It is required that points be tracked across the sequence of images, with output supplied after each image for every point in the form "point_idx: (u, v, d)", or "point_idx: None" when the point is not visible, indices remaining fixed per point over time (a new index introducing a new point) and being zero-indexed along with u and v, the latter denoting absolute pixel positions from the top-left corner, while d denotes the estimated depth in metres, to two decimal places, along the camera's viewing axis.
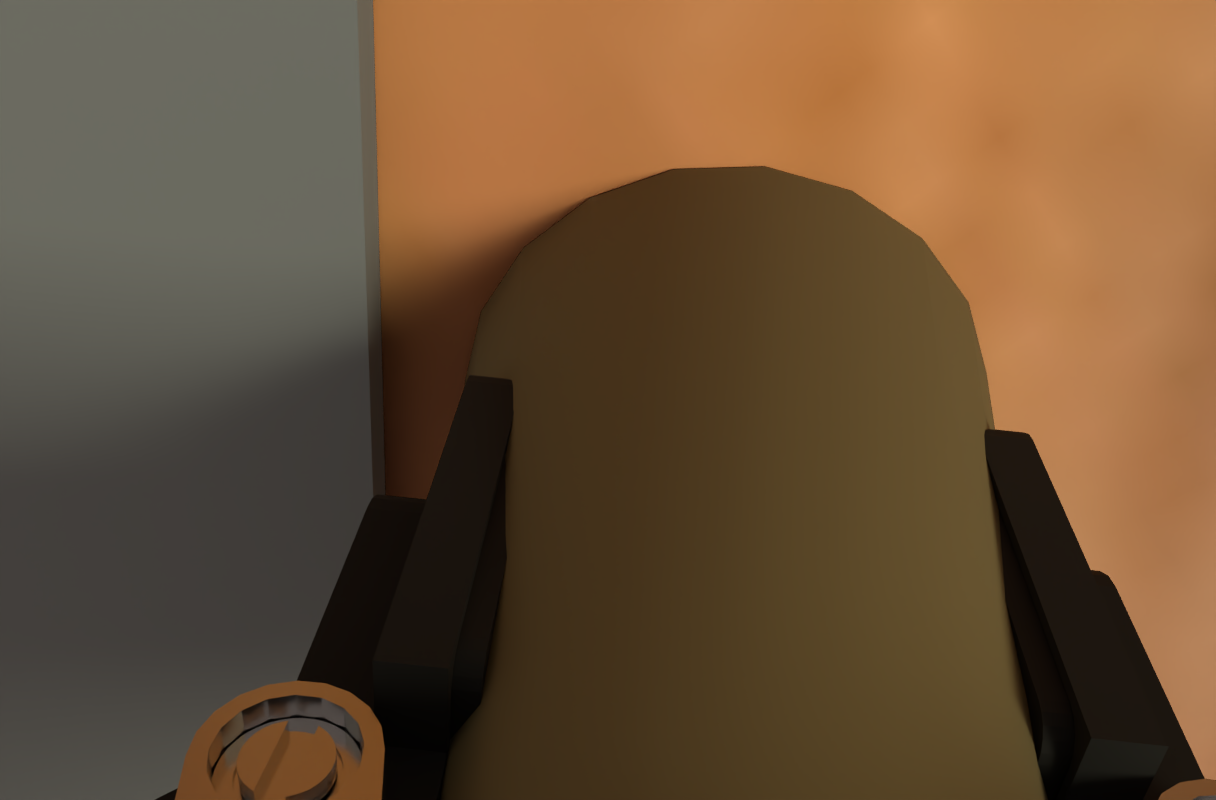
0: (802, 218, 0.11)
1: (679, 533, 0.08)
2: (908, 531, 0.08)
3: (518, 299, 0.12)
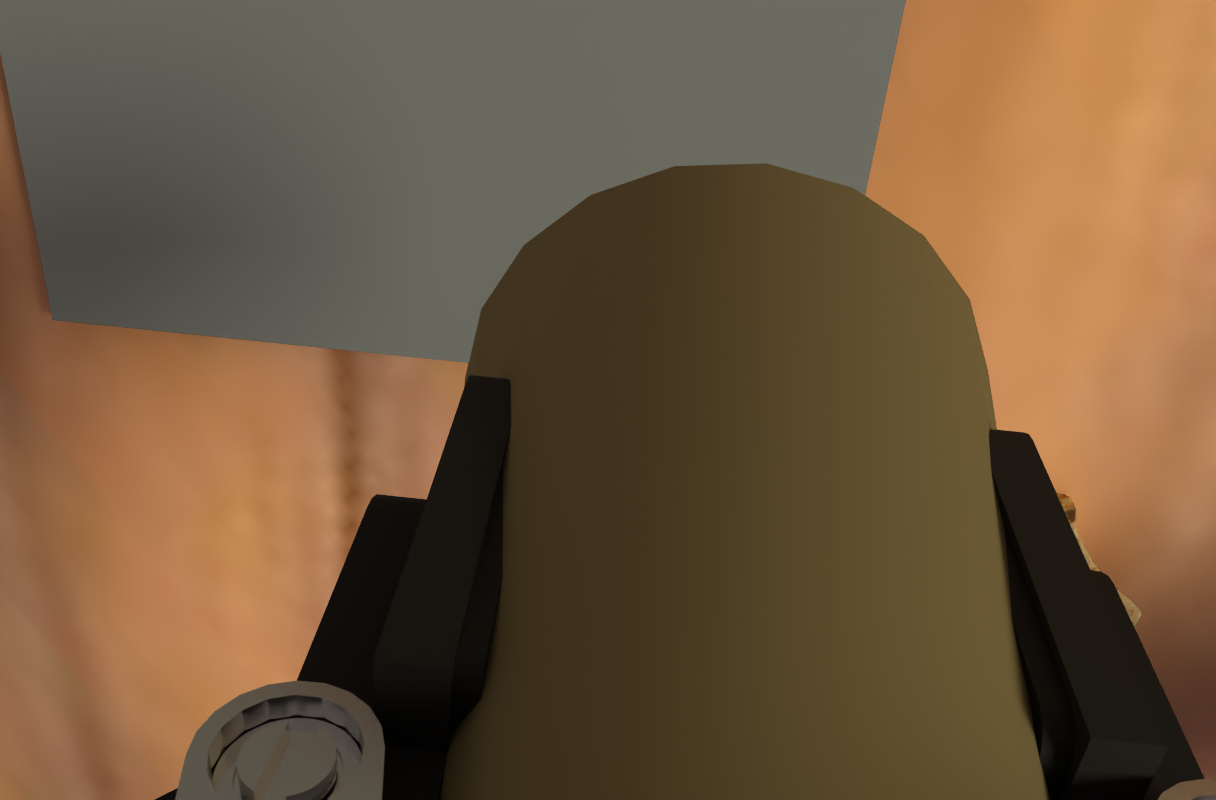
0: (802, 214, 0.11)
1: (679, 529, 0.08)
2: (908, 527, 0.08)
3: (518, 296, 0.12)
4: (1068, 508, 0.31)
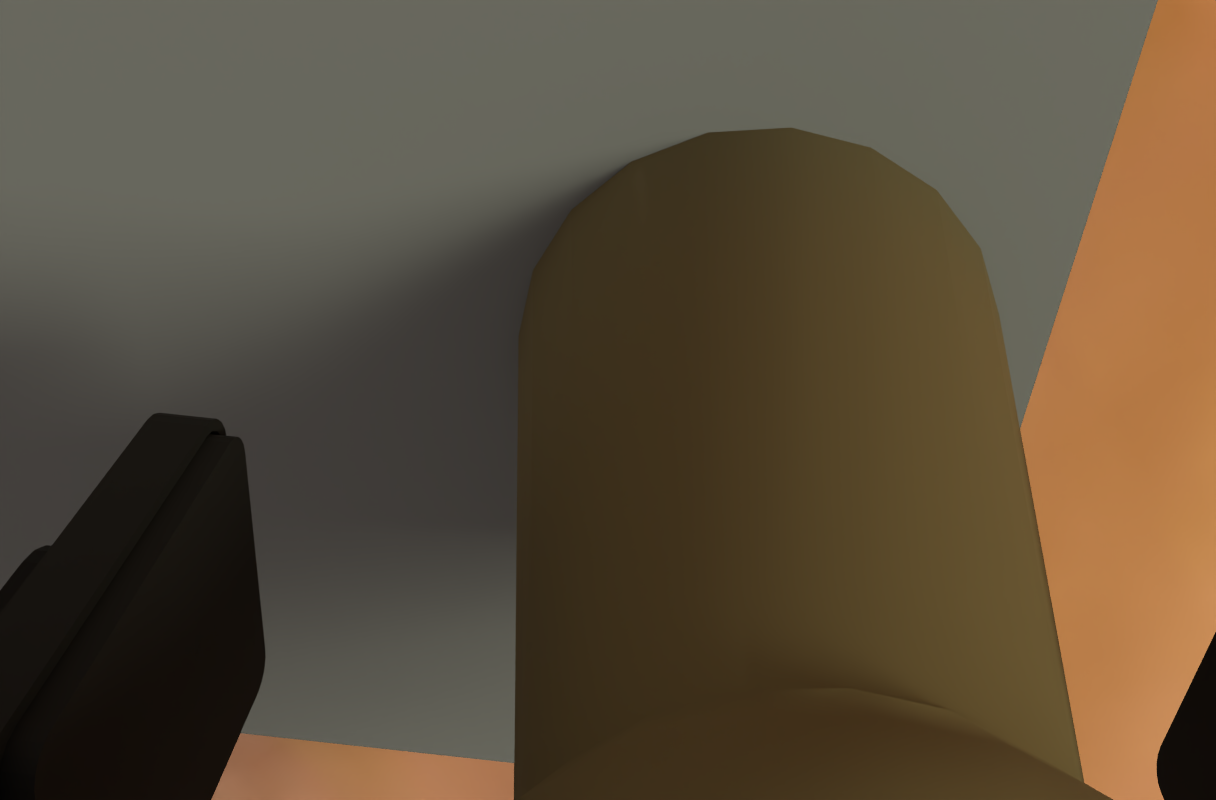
0: (825, 171, 0.12)
1: (730, 433, 0.09)
2: (931, 429, 0.09)
3: (569, 254, 0.13)
4: None
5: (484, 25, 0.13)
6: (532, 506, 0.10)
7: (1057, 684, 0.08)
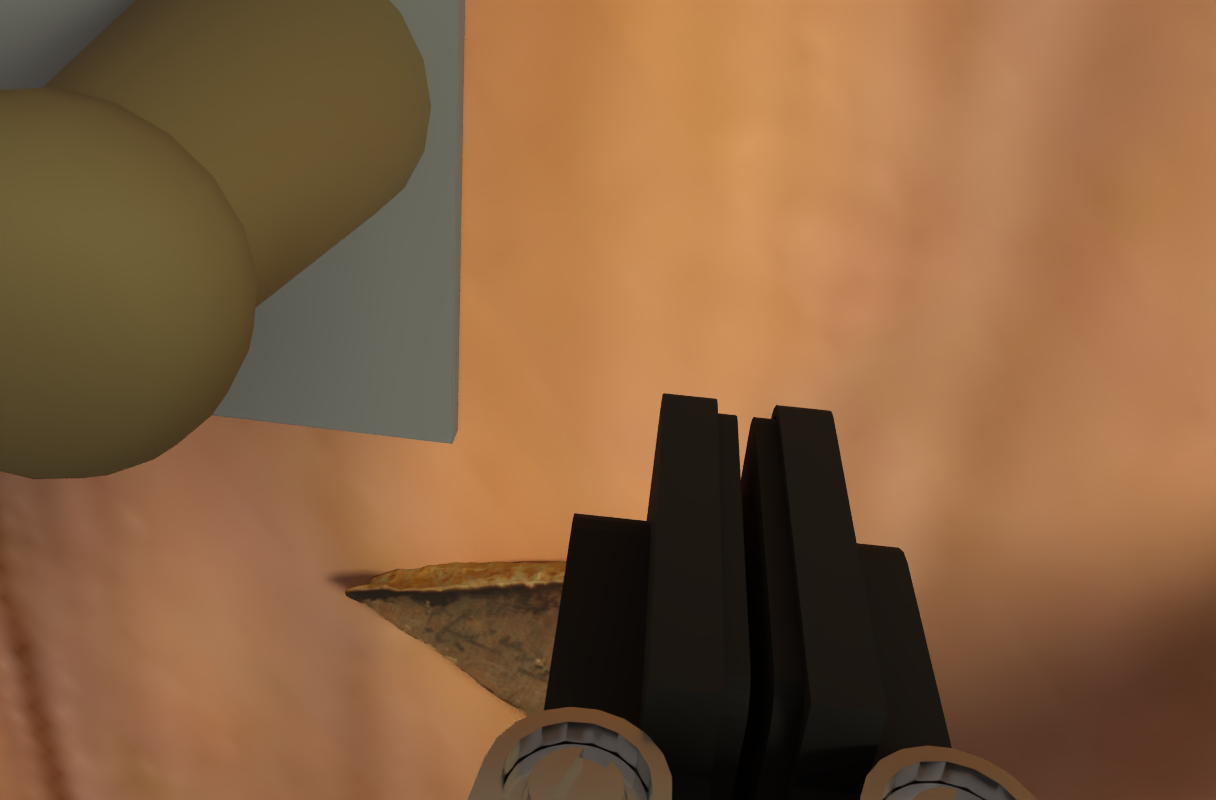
0: None
1: (112, 40, 0.18)
2: (229, 47, 0.18)
3: None
4: None
5: None
6: None
7: (240, 146, 0.17)
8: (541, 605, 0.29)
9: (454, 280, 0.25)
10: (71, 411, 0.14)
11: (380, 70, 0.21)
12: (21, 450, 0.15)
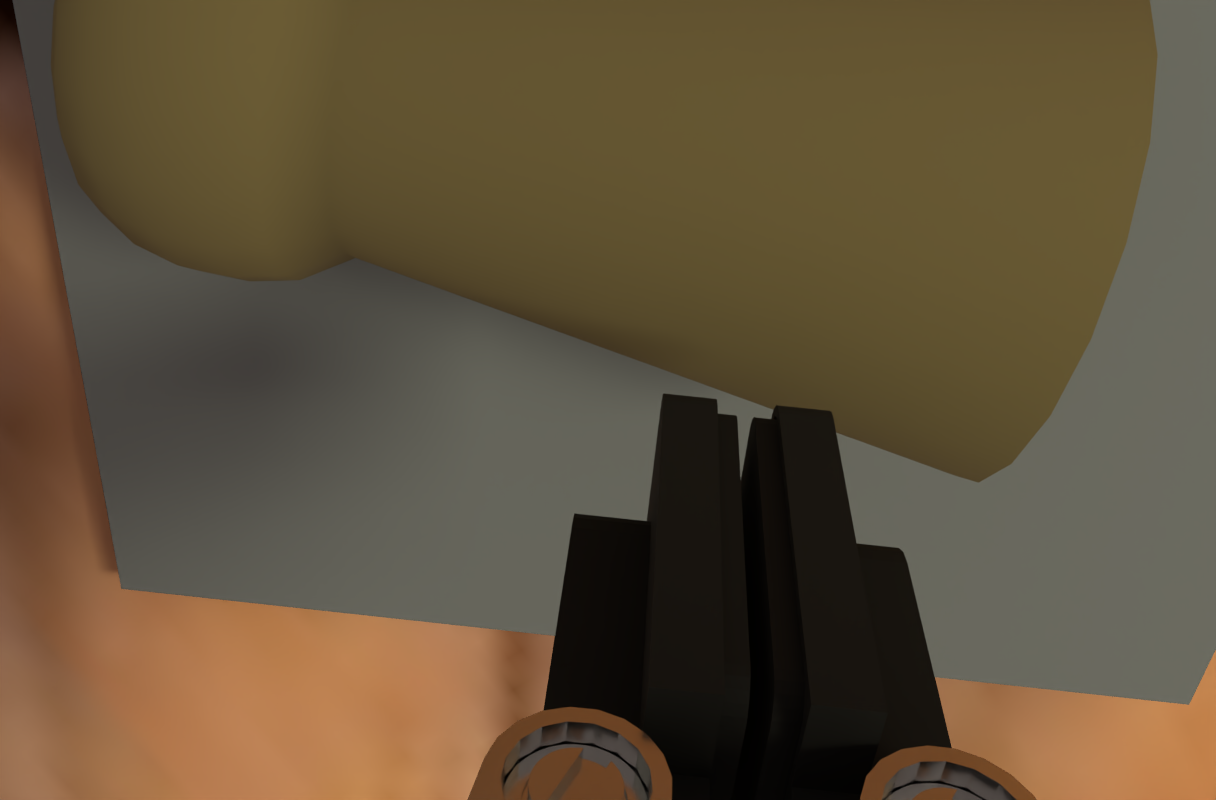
0: None
1: None
2: None
3: None
4: None
5: None
6: None
7: None
8: None
9: None
10: None
11: (962, 9, 0.11)
12: None
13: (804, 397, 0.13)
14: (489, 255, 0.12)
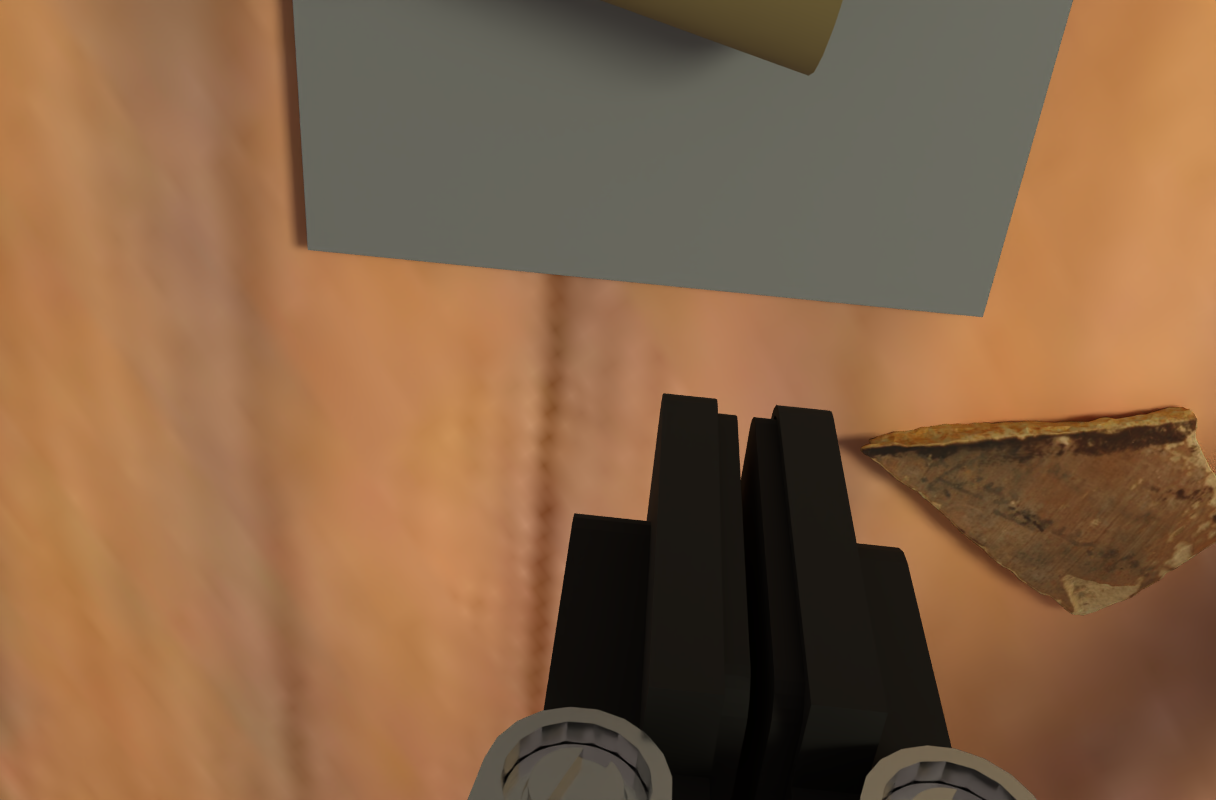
0: None
1: None
2: None
3: None
4: (1190, 418, 0.35)
5: None
6: None
7: None
8: (1027, 454, 0.36)
9: (1020, 180, 0.32)
10: None
11: None
12: None
13: None
14: None
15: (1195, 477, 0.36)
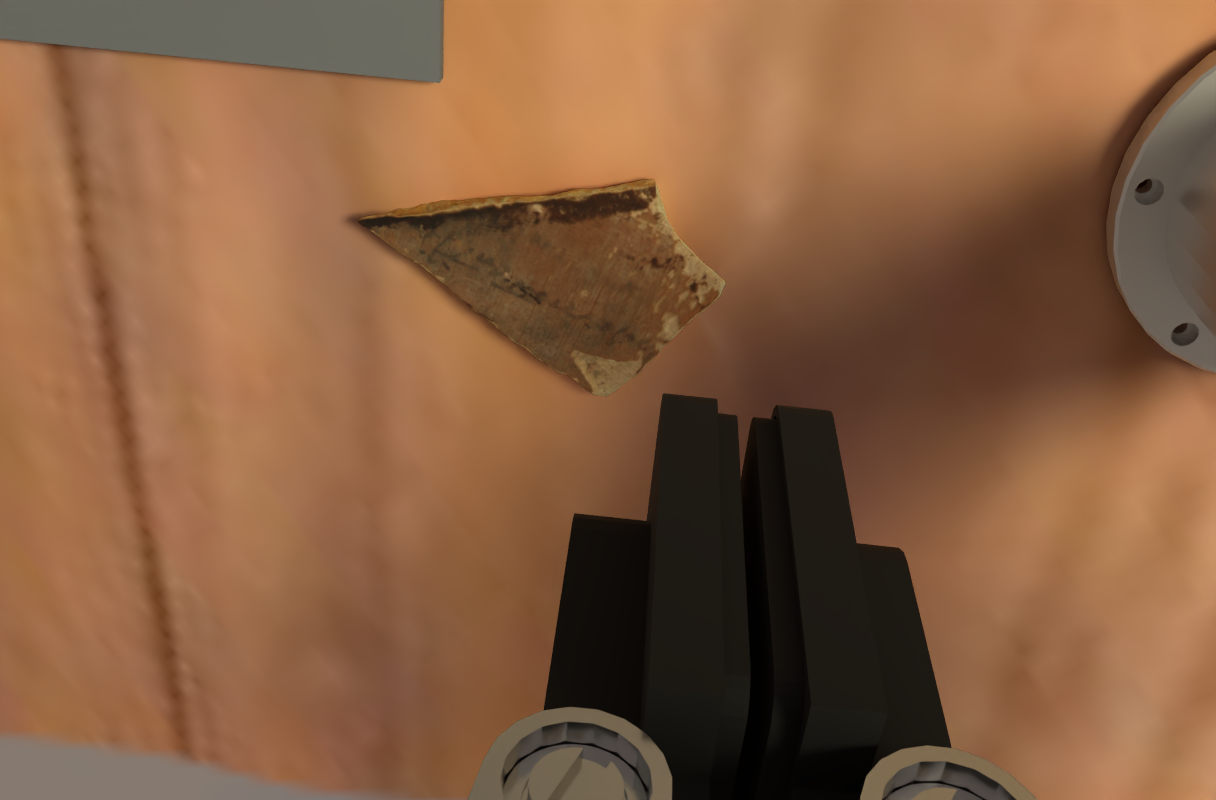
0: None
1: None
2: None
3: None
4: (649, 185, 0.38)
5: None
6: None
7: None
8: (507, 223, 0.38)
9: None
10: None
11: None
12: None
13: None
14: None
15: (664, 245, 0.38)
